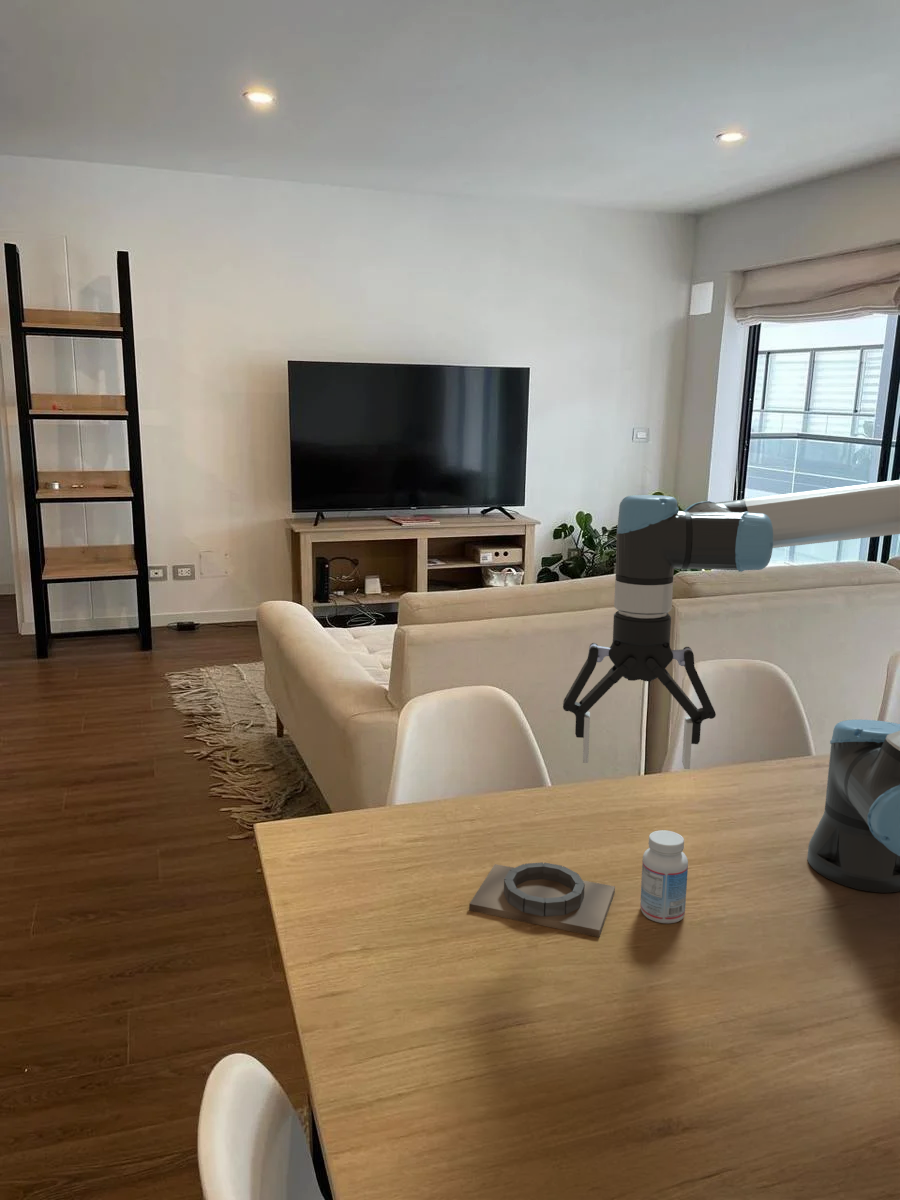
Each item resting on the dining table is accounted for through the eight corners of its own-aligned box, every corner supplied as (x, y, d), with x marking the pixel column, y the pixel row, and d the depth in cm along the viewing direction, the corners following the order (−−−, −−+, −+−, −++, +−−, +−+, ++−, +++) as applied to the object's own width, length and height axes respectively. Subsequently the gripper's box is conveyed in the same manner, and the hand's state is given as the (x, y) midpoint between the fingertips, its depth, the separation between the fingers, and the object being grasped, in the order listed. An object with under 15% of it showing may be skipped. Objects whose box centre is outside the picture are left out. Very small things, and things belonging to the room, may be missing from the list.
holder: (614, 892, 127) (615, 873, 126) (599, 937, 116) (600, 916, 115) (494, 870, 133) (495, 851, 132) (469, 910, 122) (469, 890, 121)
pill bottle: (680, 902, 124) (686, 828, 122) (687, 926, 118) (693, 849, 116) (637, 900, 125) (641, 826, 123) (642, 923, 119) (646, 846, 117)
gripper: (734, 609, 119) (724, 757, 124) (549, 603, 123) (546, 747, 127) (744, 621, 112) (733, 778, 116) (547, 614, 116) (543, 766, 120)
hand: (635, 762), depth 122 cm, fingers open, 13 cm apart
